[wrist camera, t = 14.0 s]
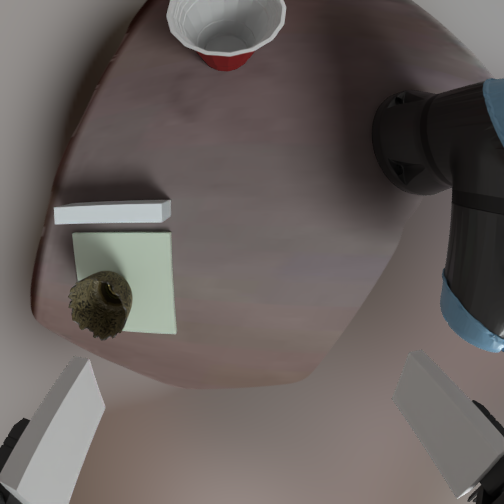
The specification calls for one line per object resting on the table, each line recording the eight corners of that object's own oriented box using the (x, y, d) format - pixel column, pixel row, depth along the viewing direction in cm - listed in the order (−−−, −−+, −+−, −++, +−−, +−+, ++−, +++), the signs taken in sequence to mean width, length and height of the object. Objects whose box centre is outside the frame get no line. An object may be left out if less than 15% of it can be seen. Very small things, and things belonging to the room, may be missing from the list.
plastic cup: (184, 96, 31) (165, 60, 19) (182, 26, 28) (167, -24, 16) (273, 88, 31) (294, 51, 20) (264, 20, 28) (279, -31, 17)
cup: (86, 290, 35) (60, 315, 27) (107, 247, 34) (79, 265, 26) (129, 319, 37) (111, 351, 29) (153, 279, 35) (136, 306, 28)
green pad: (171, 231, 35) (169, 233, 34) (176, 331, 38) (176, 334, 38) (74, 232, 34) (72, 233, 33) (88, 324, 37) (86, 327, 36)
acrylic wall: (170, 199, 34) (161, 203, 29) (170, 215, 34) (162, 222, 30) (73, 203, 33) (53, 207, 28) (73, 217, 33) (55, 224, 28)
